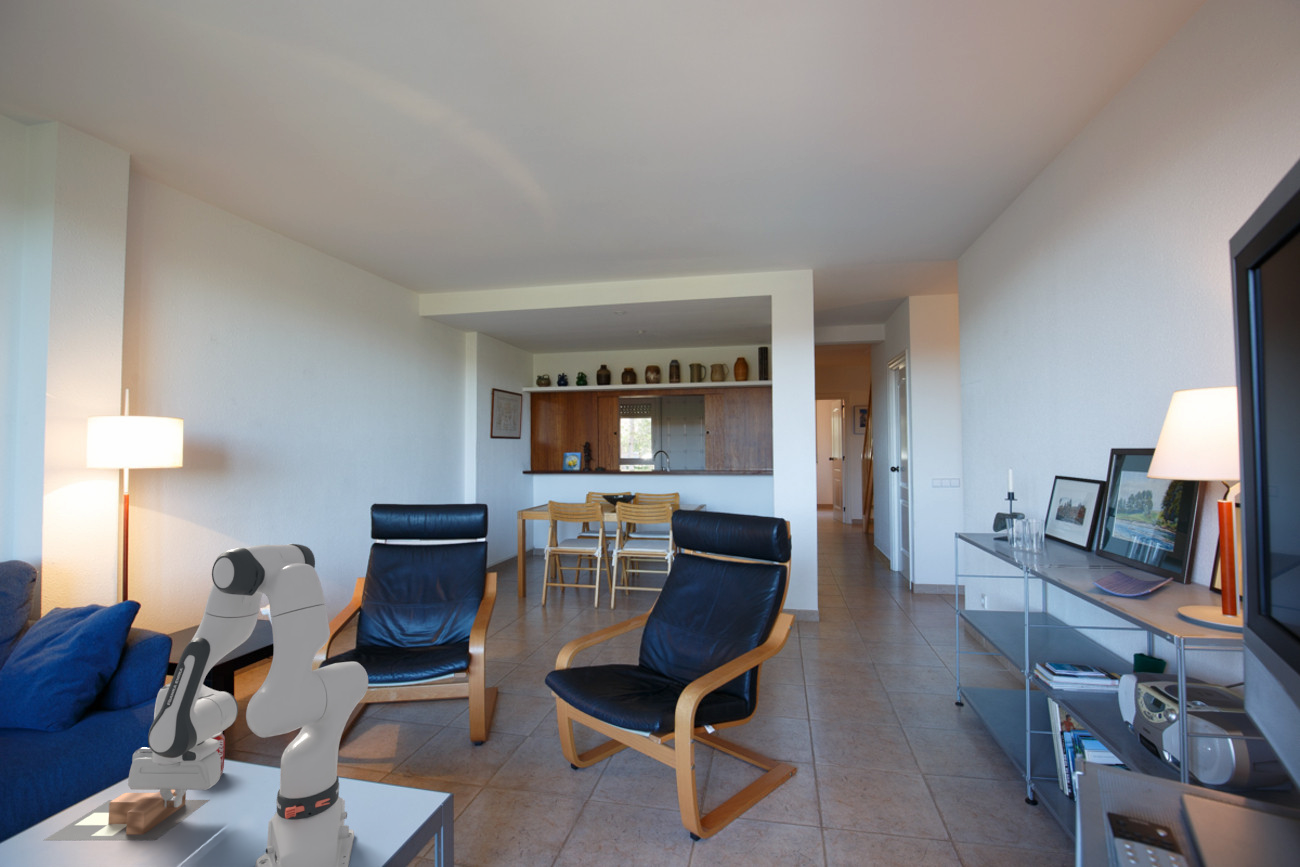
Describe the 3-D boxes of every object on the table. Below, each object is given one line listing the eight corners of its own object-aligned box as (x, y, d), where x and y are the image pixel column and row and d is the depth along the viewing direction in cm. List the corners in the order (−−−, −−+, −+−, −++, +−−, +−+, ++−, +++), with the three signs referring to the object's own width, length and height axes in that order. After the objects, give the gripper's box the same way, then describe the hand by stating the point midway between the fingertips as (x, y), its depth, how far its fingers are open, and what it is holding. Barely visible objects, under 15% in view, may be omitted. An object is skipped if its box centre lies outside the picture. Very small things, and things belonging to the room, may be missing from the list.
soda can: (206, 787, 154) (208, 741, 154) (184, 784, 155) (186, 738, 156) (230, 773, 161) (231, 729, 161) (209, 771, 162) (211, 727, 163)
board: (209, 801, 147) (209, 799, 147) (155, 841, 131) (155, 839, 131) (109, 801, 147) (109, 799, 147) (43, 842, 131) (43, 840, 131)
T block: (185, 804, 145) (186, 783, 145) (143, 834, 133) (144, 812, 133) (138, 804, 145) (139, 783, 145) (91, 834, 133) (93, 812, 134)
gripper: (121, 753, 137) (118, 813, 136) (206, 754, 137) (204, 813, 136) (145, 741, 143) (142, 798, 143) (226, 741, 143) (223, 798, 143)
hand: (173, 806), depth 139 cm, fingers closed
